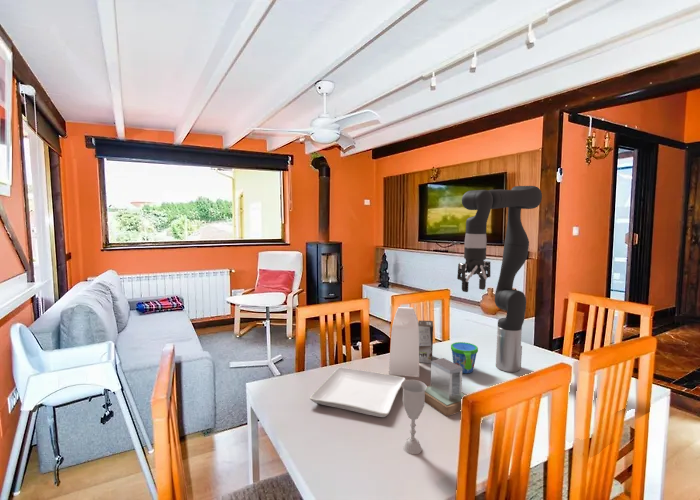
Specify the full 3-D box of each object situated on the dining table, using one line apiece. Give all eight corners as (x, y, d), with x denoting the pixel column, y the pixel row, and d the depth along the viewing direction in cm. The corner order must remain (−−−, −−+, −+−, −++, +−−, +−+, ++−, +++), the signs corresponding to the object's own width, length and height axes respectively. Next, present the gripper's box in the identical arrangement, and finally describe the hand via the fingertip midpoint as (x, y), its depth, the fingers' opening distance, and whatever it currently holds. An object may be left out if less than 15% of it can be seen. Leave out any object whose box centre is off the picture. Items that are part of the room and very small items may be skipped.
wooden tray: (443, 389, 138) (444, 381, 138) (473, 407, 126) (473, 397, 126) (418, 397, 132) (418, 388, 132) (446, 416, 120) (446, 406, 120)
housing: (442, 385, 134) (443, 357, 133) (461, 396, 126) (462, 367, 125) (430, 389, 132) (431, 360, 131) (449, 400, 124) (450, 370, 123)
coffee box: (432, 363, 162) (433, 326, 160) (417, 362, 163) (417, 325, 162) (432, 355, 171) (433, 320, 169) (417, 354, 172) (418, 319, 171)
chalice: (397, 440, 108) (398, 380, 106) (421, 439, 108) (422, 379, 106) (403, 457, 100) (404, 392, 98) (428, 456, 101) (430, 391, 99)
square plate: (308, 408, 126) (308, 397, 125) (339, 374, 151) (339, 365, 151) (387, 424, 116) (387, 412, 116) (406, 386, 142) (406, 376, 142)
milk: (419, 365, 160) (420, 305, 157) (419, 377, 149) (420, 312, 146) (390, 363, 162) (391, 303, 159) (388, 374, 151) (389, 310, 148)
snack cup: (448, 361, 164) (449, 339, 163) (474, 363, 162) (475, 340, 161) (451, 377, 149) (452, 352, 148) (479, 379, 147) (480, 354, 146)
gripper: (481, 244, 143) (479, 286, 145) (453, 246, 136) (451, 290, 138) (497, 246, 137) (495, 290, 138) (469, 248, 130) (467, 294, 131)
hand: (473, 290), depth 138 cm, fingers open, 8 cm apart
